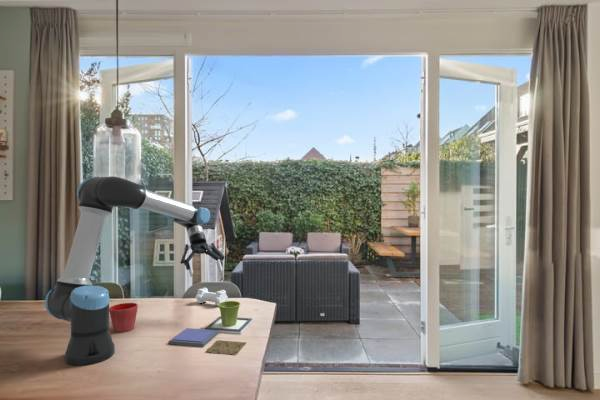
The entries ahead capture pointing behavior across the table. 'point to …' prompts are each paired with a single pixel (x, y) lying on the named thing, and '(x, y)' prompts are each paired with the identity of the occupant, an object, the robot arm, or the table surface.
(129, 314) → the flower pot
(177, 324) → the table surface
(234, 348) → the brown square mat
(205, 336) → the ink pad
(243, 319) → the marked board
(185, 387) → the table surface
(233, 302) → the plant pot
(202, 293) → the bone shaped toy
